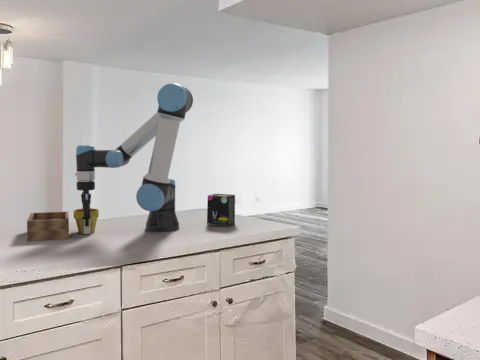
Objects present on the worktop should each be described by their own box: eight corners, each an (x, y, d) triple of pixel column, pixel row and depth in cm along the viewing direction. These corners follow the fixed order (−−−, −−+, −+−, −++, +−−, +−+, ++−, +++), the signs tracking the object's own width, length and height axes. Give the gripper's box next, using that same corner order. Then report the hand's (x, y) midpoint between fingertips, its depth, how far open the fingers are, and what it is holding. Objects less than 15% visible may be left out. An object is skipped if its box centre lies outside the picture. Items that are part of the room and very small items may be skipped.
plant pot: (91, 235, 195) (90, 212, 194) (69, 233, 197) (68, 211, 196) (103, 230, 205) (102, 208, 204) (82, 229, 207) (81, 207, 206)
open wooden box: (68, 228, 208) (68, 211, 207) (69, 238, 187) (68, 219, 186) (31, 230, 202) (30, 212, 202) (27, 241, 181) (26, 221, 181)
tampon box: (206, 225, 221) (206, 195, 219) (214, 222, 229) (215, 193, 228) (227, 227, 216) (227, 196, 215) (235, 224, 225) (235, 194, 224)
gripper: (76, 179, 208) (76, 227, 210) (77, 183, 187) (78, 236, 189) (93, 178, 211) (93, 226, 213) (96, 182, 190) (97, 235, 191)
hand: (86, 231), depth 201 cm, fingers closed on plant pot, 10 cm apart
